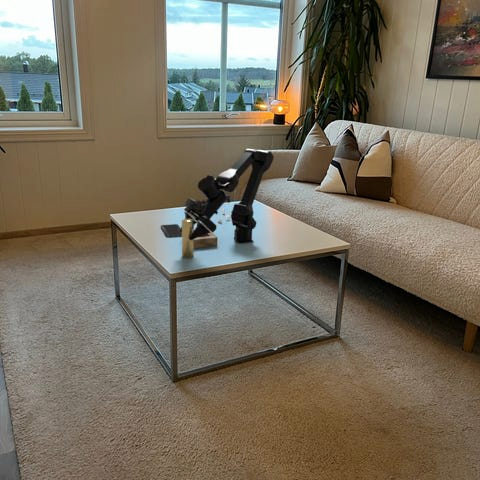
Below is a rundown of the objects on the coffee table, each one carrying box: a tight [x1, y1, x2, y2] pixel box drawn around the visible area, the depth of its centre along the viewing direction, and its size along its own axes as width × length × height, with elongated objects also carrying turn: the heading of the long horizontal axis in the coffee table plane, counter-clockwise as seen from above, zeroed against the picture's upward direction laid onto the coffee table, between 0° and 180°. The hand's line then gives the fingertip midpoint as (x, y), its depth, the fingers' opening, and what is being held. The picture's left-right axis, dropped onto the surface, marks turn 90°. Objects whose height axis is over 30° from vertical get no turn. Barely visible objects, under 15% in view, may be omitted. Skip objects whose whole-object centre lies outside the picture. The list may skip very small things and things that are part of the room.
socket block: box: [194, 231, 218, 249], centre depth 191 cm, size 11×11×4 cm
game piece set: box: [198, 208, 231, 223], centre depth 225 cm, size 19×20×4 cm
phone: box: [160, 223, 182, 238], centre depth 204 cm, size 8×1×15 cm
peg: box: [181, 218, 195, 259], centre depth 175 cm, size 4×4×14 cm
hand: (184, 235), depth 174 cm, fingers open, 9 cm apart
